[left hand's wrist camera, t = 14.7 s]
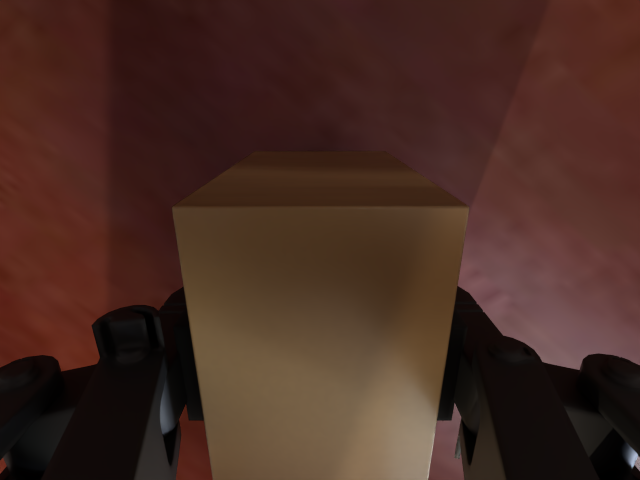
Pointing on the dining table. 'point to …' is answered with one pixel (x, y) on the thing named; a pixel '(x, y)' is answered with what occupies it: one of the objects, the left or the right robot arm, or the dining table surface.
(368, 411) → the bar
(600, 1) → the dining table surface
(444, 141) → the dining table surface
